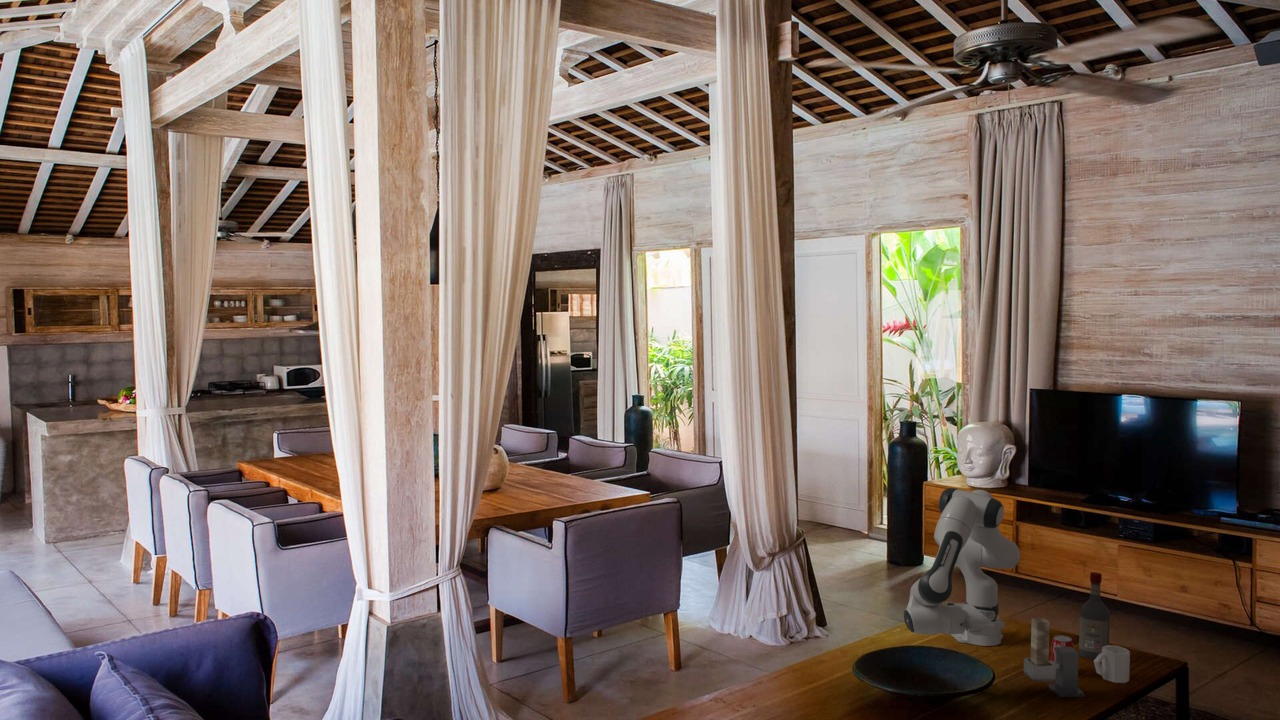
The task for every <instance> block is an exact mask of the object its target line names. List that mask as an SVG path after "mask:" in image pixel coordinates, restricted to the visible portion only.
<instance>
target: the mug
mask: <svg viewBox="0 0 1280 720" xmlns="http://www.w3.org/2000/svg"><path fill="white" fill-rule="evenodd" d="M1130 658H1131V651H1130V650H1129V649H1127V648H1126V647H1122V646H1119V645H1110V644H1109V645H1107V646H1104V647H1102V653H1100V654H1099V655H1098V656H1097V657H1096V659H1095V660H1093V664H1094V667H1095V672H1096V674H1098V675H1100V677H1102V678H1103V680H1106V681H1109V682H1112V683H1117V684H1119V683H1120V684H1126V683H1127V682H1129V681H1130V664H1131V663H1130V662H1131V661H1130Z"/></svg>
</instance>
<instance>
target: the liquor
mask: <svg viewBox="0 0 1280 720" xmlns="http://www.w3.org/2000/svg"><path fill="white" fill-rule="evenodd" d="M1089 576H1090V577H1089V582H1090V595H1089V599H1088V600H1087V601H1086V602H1085V603H1084V604H1082V606H1081V608H1080V611H1079V629H1078V630H1079V633H1078V634H1079V636H1078V638H1079V639H1078V652H1079V656H1080V657H1082V658H1084V659H1087V660H1088V659H1089V660H1091V661H1092V660H1093V661H1094V660H1095V659H1096V657H1097V656H1098V655H1099V654H1100V653H1102V647H1104V646H1107V645H1110V619H1111V618H1110V615H1111V614H1110V613H1111V612H1110V610H1109V608H1108V607H1107V605H1106V604H1105V602H1103V600H1102V598H1101V583H1102V576H1103V575H1102V573H1100V572H1097V571H1096V572H1095V571H1093V572H1090V574H1089Z"/></svg>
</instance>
